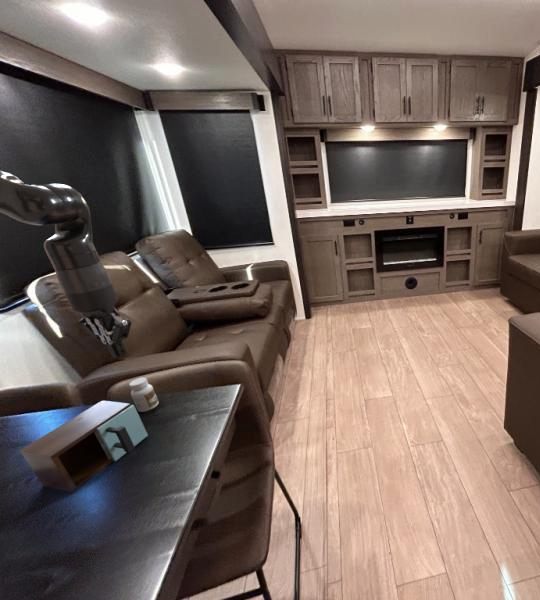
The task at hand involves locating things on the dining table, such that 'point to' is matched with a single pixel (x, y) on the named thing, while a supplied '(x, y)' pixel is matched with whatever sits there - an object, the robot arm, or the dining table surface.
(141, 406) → the pill bottle
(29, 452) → the cabinet
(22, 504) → the dining table surface
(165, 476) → the dining table surface
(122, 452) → the glass door
